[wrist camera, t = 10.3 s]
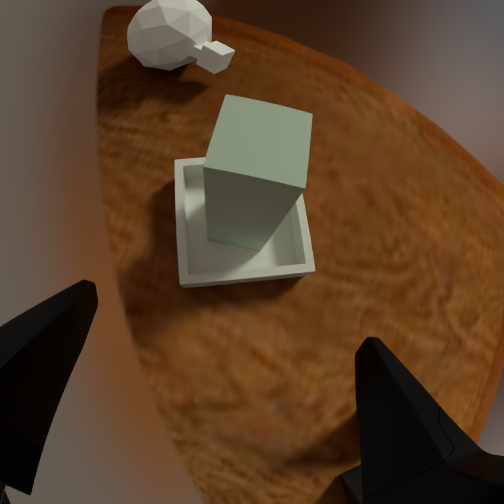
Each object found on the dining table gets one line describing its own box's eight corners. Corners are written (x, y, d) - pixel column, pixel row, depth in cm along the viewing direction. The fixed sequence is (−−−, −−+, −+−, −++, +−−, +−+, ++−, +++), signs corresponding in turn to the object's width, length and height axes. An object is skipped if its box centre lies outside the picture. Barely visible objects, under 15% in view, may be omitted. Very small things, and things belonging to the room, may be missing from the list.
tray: (304, 276, 22) (315, 271, 20) (183, 288, 21) (179, 284, 18) (286, 170, 24) (294, 154, 21) (178, 175, 23) (174, 160, 20)
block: (260, 251, 21) (305, 188, 11) (207, 240, 21) (203, 166, 10) (268, 202, 22) (312, 114, 12) (218, 192, 22) (226, 94, 11)
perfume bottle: (105, 63, 22) (184, 110, 24) (118, -9, 15) (215, 27, 16) (158, 42, 27) (231, 82, 28) (177, -18, 19) (265, 18, 21)
